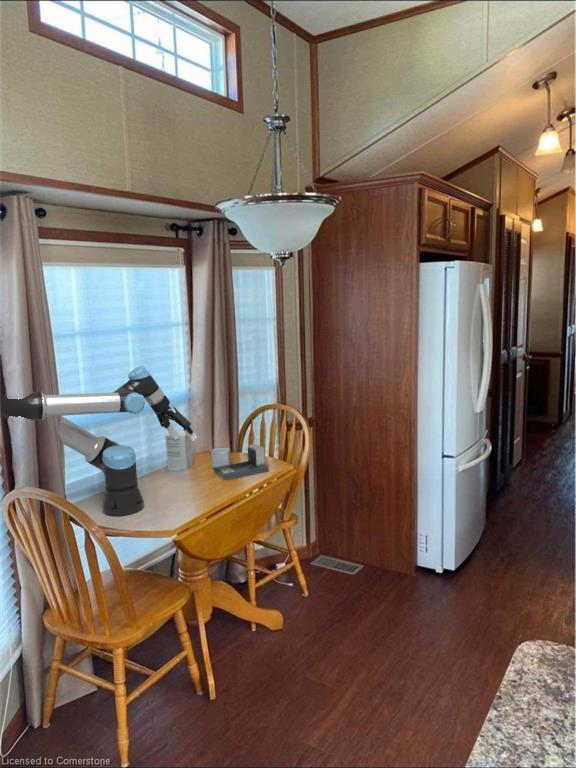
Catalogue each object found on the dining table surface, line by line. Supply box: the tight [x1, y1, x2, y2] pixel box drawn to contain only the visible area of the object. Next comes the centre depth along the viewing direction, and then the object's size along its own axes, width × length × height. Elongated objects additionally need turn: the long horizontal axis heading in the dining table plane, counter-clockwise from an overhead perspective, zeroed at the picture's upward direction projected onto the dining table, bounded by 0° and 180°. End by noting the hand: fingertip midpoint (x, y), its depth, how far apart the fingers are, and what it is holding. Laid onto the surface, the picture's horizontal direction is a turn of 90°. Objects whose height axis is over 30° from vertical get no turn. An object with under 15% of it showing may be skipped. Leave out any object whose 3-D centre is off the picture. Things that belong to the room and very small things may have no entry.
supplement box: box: [164, 429, 194, 472], centre depth 261 cm, size 10×9×17 cm
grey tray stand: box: [213, 443, 269, 481], centre depth 251 cm, size 21×12×10 cm, turn 119°
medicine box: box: [210, 447, 232, 468], centre depth 259 cm, size 8×4×9 cm, turn 84°
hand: (185, 438), depth 239 cm, fingers open, 13 cm apart
